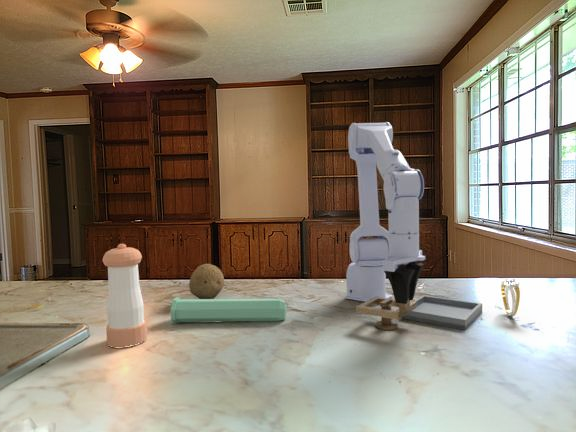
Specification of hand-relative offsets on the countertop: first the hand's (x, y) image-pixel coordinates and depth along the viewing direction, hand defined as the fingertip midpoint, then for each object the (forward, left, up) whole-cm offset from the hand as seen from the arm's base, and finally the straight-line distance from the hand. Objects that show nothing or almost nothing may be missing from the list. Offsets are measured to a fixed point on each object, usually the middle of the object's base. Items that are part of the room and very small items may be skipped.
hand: (404, 301), depth 81 cm
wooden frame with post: (-4, 0, -2) cm, 5 cm away
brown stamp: (-4, 0, -6) cm, 7 cm away
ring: (+15, +20, -6) cm, 26 cm away
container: (-34, -15, -6) cm, 38 cm away
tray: (+3, +13, -6) cm, 15 cm away
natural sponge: (-50, -8, -6) cm, 51 cm away
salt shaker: (-42, -35, -6) cm, 55 cm away
